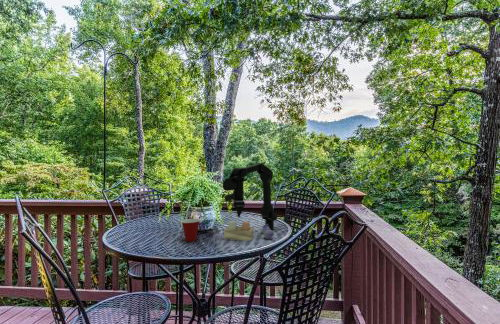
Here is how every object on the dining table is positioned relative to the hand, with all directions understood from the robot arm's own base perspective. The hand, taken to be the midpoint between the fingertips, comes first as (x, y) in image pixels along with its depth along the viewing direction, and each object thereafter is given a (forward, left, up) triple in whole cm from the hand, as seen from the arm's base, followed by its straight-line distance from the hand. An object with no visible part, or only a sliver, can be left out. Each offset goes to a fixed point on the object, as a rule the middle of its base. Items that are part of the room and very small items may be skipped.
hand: (238, 215), depth 185 cm
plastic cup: (+9, -27, -14) cm, 31 cm away
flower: (0, +17, -14) cm, 22 cm away
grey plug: (-1, -4, -10) cm, 10 cm away
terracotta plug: (-1, +4, -10) cm, 10 cm away
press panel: (-1, 0, -14) cm, 14 cm away
